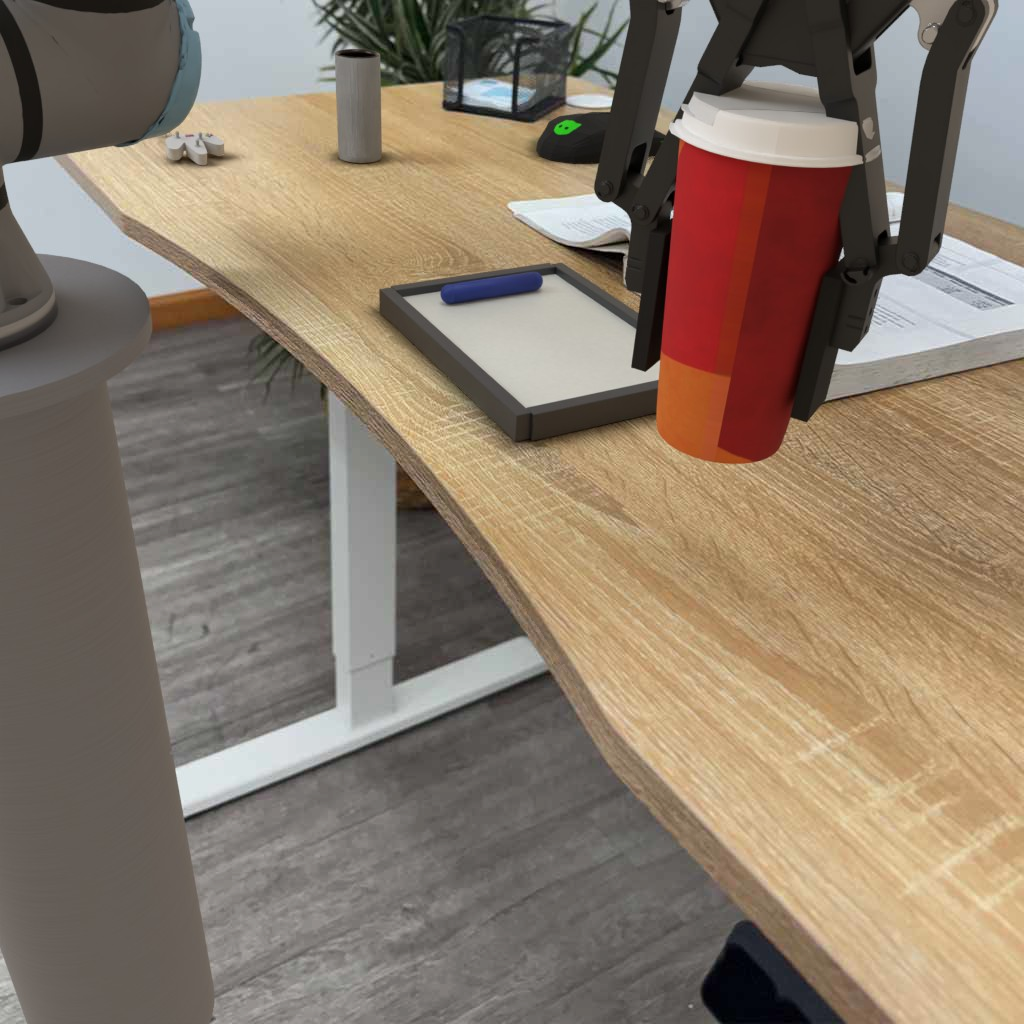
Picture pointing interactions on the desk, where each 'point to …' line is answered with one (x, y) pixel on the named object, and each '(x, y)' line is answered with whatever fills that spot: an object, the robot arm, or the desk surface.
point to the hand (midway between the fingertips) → (727, 382)
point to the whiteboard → (529, 346)
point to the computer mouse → (580, 138)
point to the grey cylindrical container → (358, 105)
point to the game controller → (194, 146)
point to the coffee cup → (748, 263)
